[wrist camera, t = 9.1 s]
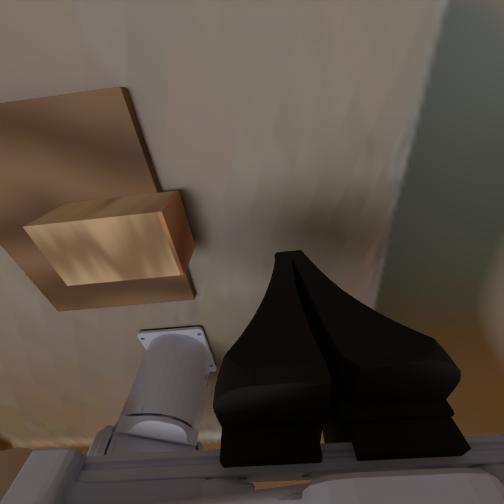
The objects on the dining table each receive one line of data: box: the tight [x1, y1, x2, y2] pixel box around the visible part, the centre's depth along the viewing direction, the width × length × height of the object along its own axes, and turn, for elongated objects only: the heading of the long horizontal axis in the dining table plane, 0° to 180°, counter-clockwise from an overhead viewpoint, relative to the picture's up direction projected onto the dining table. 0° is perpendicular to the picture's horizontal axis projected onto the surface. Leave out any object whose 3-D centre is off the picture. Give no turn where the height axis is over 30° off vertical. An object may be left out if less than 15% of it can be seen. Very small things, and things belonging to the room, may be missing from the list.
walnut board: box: [0, 87, 196, 311], centre depth 19 cm, size 18×15×1 cm
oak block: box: [23, 190, 195, 286], centre depth 17 cm, size 5×4×9 cm
